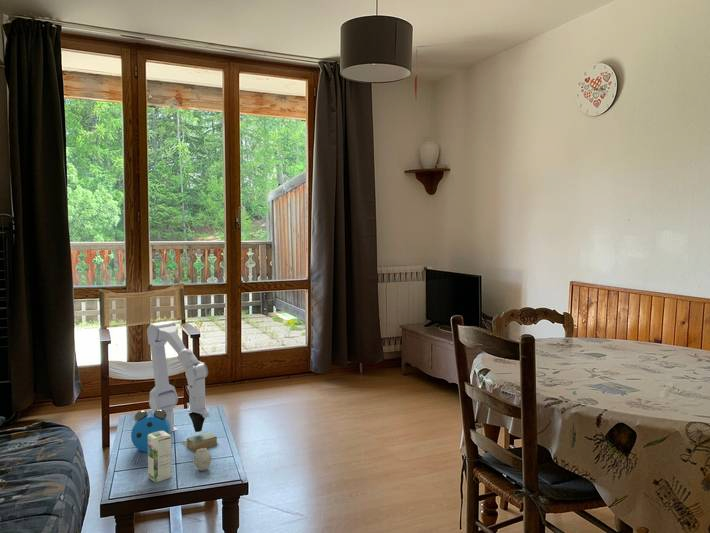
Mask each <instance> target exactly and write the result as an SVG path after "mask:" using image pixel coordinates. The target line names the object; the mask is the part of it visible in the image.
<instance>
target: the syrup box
mask: <svg viewBox="0 0 710 533" xmlns="http://www.w3.org/2000/svg"><path fill="white" fill-rule="evenodd" d="M147 473H148V474H147V475H148V479H150V480H151V481H153V483H159V482H162V481H165V480H167V479H171V478H172V475H173V474H172V435H171V434H170V435H169V434H168V433H166V432H165V431H158V432H154V433H151V434H148V452H147Z"/></svg>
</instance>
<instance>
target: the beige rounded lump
mask: <svg viewBox="0 0 710 533" xmlns="http://www.w3.org/2000/svg"><path fill="white" fill-rule="evenodd" d="M212 459H213V458H212V455H211V453H210V451H209V450H208V448H204V449H203V448H201V449H198V450H197V451H196V452H194V455H193V459H192V461H193V464H194V466H195V468H196V469H197V470H198V471H201V472H203V471H207V469H209V468H210V466H211V463H212V461H213V460H212Z"/></svg>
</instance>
